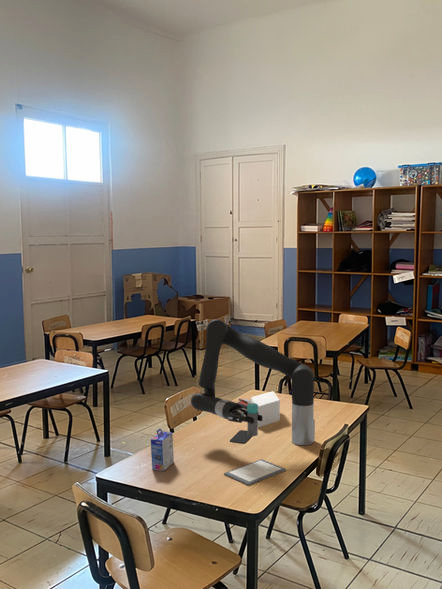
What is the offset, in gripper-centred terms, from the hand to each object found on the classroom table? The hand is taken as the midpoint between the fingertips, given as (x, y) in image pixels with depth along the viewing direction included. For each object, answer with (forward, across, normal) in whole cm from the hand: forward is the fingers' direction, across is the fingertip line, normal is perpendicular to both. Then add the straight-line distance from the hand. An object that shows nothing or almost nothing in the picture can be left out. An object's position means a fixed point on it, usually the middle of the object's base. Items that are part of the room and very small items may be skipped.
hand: (257, 419), depth 225 cm
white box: (-38, +42, +18) cm, 60 cm away
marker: (-3, 0, +7) cm, 7 cm away
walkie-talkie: (-59, +49, +18) cm, 79 cm away
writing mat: (+5, -6, +18) cm, 20 cm away
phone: (-26, +16, +18) cm, 36 cm away
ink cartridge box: (-24, -28, +18) cm, 41 cm away
